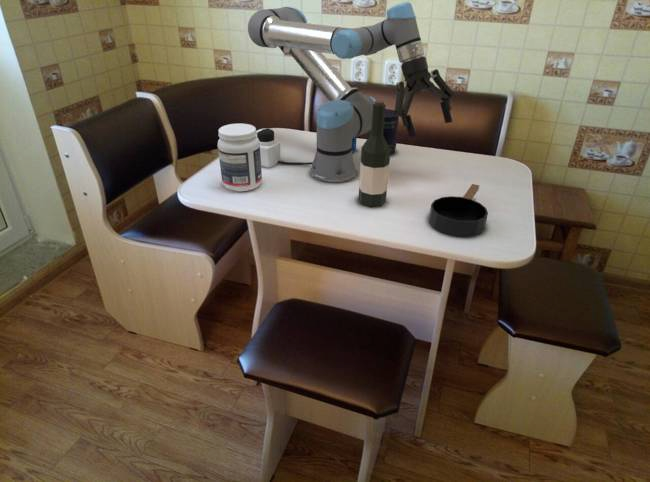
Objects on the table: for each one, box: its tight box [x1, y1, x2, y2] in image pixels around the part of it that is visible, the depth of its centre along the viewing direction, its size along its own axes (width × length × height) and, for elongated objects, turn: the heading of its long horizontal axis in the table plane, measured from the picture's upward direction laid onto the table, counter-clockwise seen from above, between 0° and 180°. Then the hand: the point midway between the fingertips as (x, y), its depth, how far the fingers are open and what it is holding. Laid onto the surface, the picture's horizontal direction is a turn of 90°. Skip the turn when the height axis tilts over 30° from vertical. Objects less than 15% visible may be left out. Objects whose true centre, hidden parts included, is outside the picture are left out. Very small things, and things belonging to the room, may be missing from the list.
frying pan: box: [428, 183, 489, 238], centre depth 130 cm, size 26×15×5 cm, turn 150°
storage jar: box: [383, 108, 400, 157], centre depth 169 cm, size 10×10×15 cm
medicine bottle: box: [256, 127, 282, 169], centre depth 159 cm, size 7×7×12 cm
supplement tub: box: [217, 123, 263, 192], centre depth 142 cm, size 13×13×18 cm
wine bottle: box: [358, 99, 391, 208], centre depth 130 cm, size 8×8×30 cm
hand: (430, 129), depth 140 cm, fingers open, 13 cm apart
